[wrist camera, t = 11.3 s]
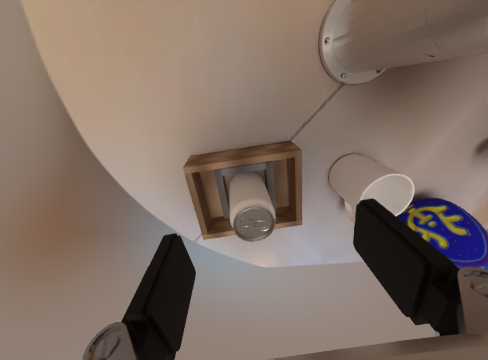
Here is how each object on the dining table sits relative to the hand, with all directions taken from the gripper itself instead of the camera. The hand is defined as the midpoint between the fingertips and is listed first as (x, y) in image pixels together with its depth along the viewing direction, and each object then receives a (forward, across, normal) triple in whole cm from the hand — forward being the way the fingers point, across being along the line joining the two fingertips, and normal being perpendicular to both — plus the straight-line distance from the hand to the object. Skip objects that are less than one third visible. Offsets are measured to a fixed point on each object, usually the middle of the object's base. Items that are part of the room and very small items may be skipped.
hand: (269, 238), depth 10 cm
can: (+24, +2, +9) cm, 26 cm away
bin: (+25, +2, +9) cm, 27 cm away
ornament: (+26, -32, +24) cm, 48 cm away
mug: (+26, -18, +13) cm, 34 cm away
